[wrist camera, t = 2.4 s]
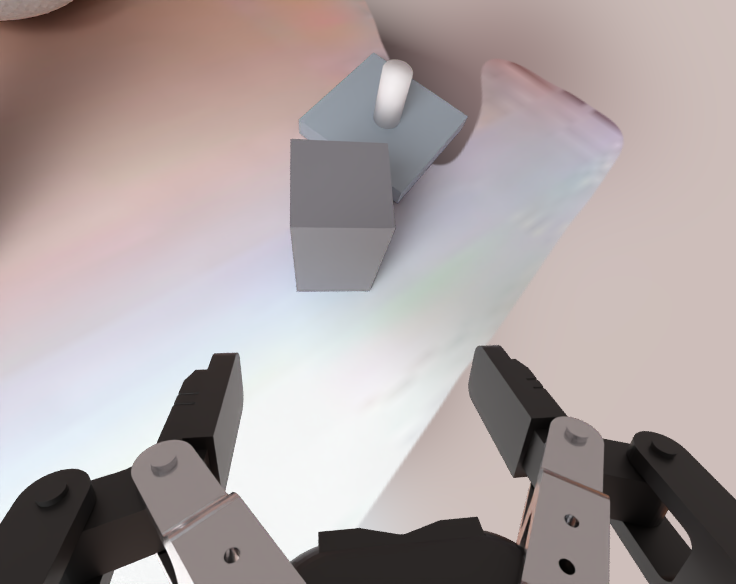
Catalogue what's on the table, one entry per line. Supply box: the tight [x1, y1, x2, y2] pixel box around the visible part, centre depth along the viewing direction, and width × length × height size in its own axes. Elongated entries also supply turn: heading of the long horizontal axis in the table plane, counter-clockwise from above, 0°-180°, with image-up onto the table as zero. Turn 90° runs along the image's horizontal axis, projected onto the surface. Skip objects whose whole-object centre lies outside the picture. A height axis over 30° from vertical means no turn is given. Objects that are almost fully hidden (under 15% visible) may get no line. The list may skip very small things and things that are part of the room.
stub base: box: [299, 53, 468, 203], centre depth 31 cm, size 10×10×6 cm
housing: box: [290, 139, 396, 292], centre depth 25 cm, size 5×5×10 cm
